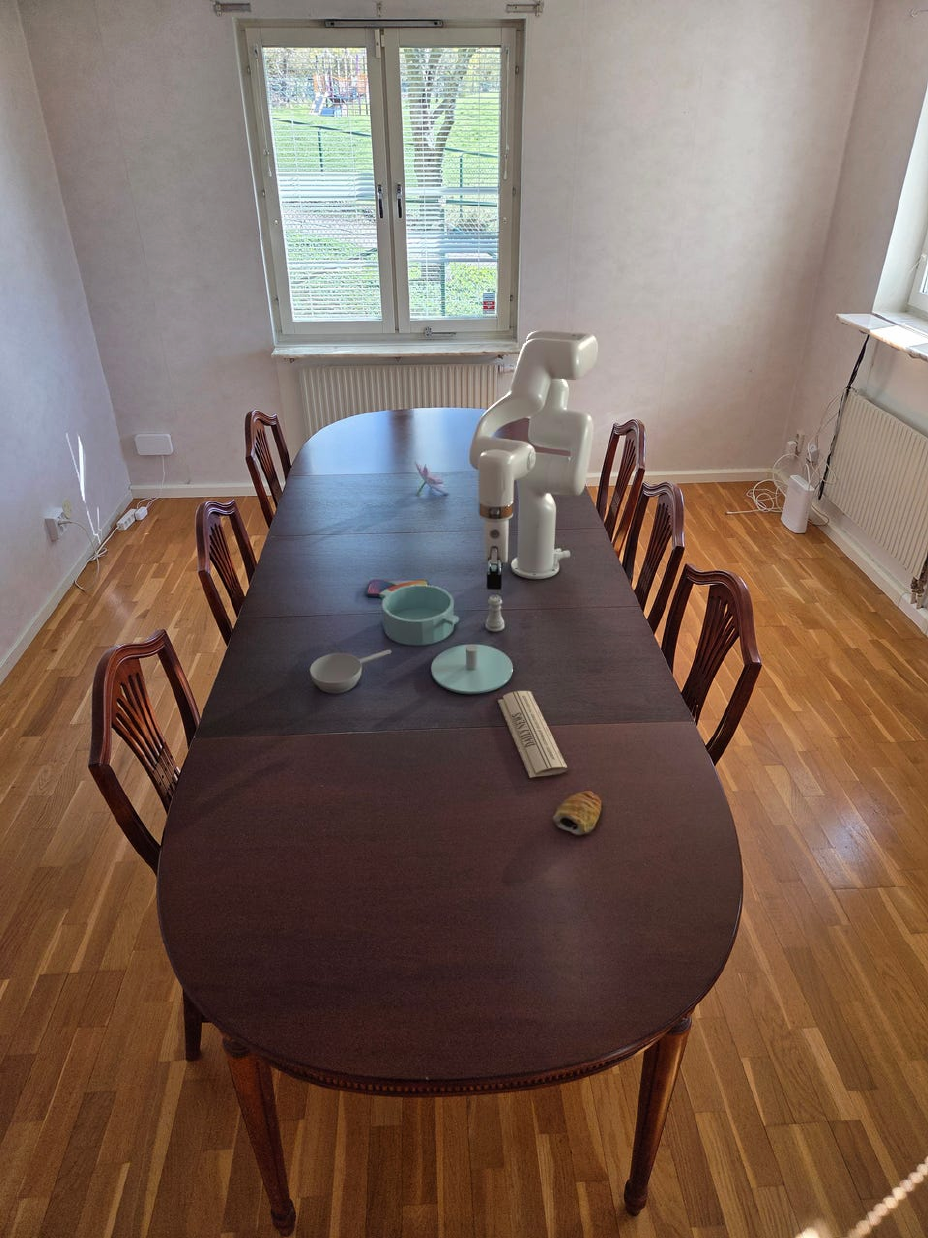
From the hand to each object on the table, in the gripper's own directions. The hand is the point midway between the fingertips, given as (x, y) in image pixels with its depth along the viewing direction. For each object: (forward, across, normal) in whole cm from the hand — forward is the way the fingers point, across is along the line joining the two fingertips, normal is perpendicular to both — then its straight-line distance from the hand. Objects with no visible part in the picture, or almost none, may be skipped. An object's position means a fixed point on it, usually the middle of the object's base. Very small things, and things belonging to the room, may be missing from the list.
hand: (494, 578), depth 184 cm
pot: (+13, 0, +18) cm, 22 cm away
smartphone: (+13, +17, +25) cm, 33 cm away
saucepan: (+14, -20, +30) cm, 38 cm away
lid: (+13, -17, +4) cm, 22 cm away
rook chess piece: (+14, 0, 0) cm, 14 cm away
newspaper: (+14, -38, -8) cm, 41 cm away
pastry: (+14, -60, -16) cm, 63 cm away
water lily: (+13, +80, +22) cm, 84 cm away
